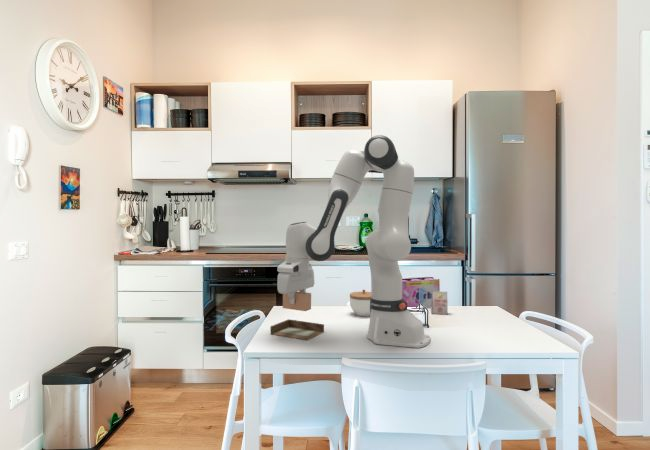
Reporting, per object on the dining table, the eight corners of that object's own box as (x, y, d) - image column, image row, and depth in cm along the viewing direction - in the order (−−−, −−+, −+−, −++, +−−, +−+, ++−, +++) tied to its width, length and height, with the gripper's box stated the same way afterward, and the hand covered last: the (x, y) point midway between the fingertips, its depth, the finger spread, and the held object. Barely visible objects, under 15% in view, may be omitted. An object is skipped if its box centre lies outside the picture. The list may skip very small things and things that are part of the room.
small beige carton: (431, 312, 187) (431, 290, 187) (446, 313, 185) (446, 291, 185) (431, 314, 183) (431, 292, 183) (447, 315, 182) (447, 292, 182)
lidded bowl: (349, 311, 189) (349, 287, 189) (376, 311, 189) (376, 287, 188) (349, 317, 177) (350, 292, 176) (379, 318, 176) (379, 292, 176)
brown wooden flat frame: (324, 332, 155) (324, 324, 155) (307, 340, 144) (307, 332, 144) (288, 326, 162) (288, 319, 162) (270, 334, 152) (270, 326, 152)
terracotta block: (288, 306, 157) (288, 290, 157) (311, 309, 152) (311, 293, 152) (282, 308, 154) (282, 292, 154) (305, 311, 149) (305, 294, 149)
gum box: (433, 303, 206) (433, 276, 206) (442, 306, 199) (442, 278, 198) (390, 306, 198) (390, 278, 198) (398, 310, 191) (398, 281, 191)
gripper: (304, 262, 163) (304, 296, 164) (274, 267, 146) (274, 306, 146) (318, 263, 160) (318, 298, 161) (289, 268, 142) (288, 308, 143)
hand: (296, 302), depth 153 cm, fingers closed on terracotta block, 4 cm apart
